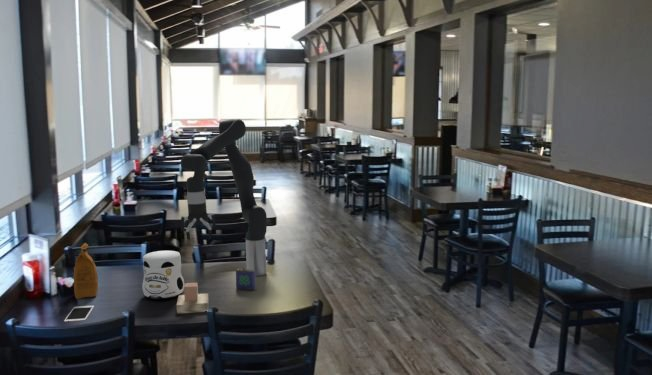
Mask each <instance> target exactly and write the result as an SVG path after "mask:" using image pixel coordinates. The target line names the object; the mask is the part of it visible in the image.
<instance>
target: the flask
mask: <svg viewBox="0 0 652 375" xmlns="http://www.w3.org/2000/svg"><path fill="white" fill-rule="evenodd" d="M255 273H256V272H255V270H247V265H245V266H243V268H241V267H239V268H237V269H235V277H236V278H235V289H236V290H238V291H247V292H249V291H250V292H253V291H254V292H255V291H256V290H257V286H256V285H257V283H256V280H257V279H256V276H255Z"/></svg>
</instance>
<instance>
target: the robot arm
mask: <svg viewBox="0 0 652 375" xmlns="http://www.w3.org/2000/svg"><path fill="white" fill-rule="evenodd" d="M246 132H247V127H246V123H245V122H244V121H243V120H242V119H240V118H232V119H224V120H221V121H220V123H219V125H218V133H219V134H218V135H216V136H213V137H212V138H210V139H208V140H206V141H205V142H204V143H202V144H201V145H200V146H199V147H198V148H194V149H192V150H191V151H188V152H187V153H185V154H184V155H183V156H182V158H181V160H180V167H181V168H182V169H183V170H184V171H185V172H193V176H190V177H187V179H186V190H187V192H186V193H187V194H186V203H187V211H188V212H187V213H188V215H187V216H185V215H181V217H180V220H181V221H180V223H181V224H180V226H181V228H180V229H181V231H182V232H186V233H185V235H186V239H187V240H188V241H191V232H190V230H191V228H192V227H193V226H195V227H196V226H205V227H206V228H207V230H208V239H211V238H212V237H213V229H216V227H217V225H216V217H215V214H214V213H208V211H207V199H206V193H205V183H204V182H205V177H206V171H207V162H208V161H210V160H212V159H213V158H214V157H215V156H216V155H217V154H219V153H220V152H221V151H223V150H224V149H225V153H226V155H227V159H228V161H229V165H230V169H231V173H232V178H233V181H234V184H235V187H236V191H237V195H238V197H239V203H240V208H241V210H240V211H241V214H242V218H243V221H245V222H246V223H247V224H248V230H247V232H246V233H245V257H246V263H245V264H246V265H245V266H247V270H255V272H256V273H255V277H260V276H264V275H267V254H266V233H267V227H268V226H267V223H268V222H267V216H268V215H267V212H266V210H265V208H263V207H262V206H259V205H257V202H256V198H255V194H254V183H255V177H254V173H253V169H252V166H251V163H250V161H249V159H247V157H246V156H245V155H244V154H243V153H242V152H241V151H240V149H239V148H238V145H237V144H236V141H238V140H240V139H241V138H243V137H244V136H245V135H246ZM208 218H209V219H210V220H211V222H212V224H211V225H210V223H209V222H208V221H207V220H208ZM187 220H188V222H189V223H188V225H187V227H185V222H187Z"/></svg>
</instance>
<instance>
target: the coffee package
mask: <svg viewBox="0 0 652 375" xmlns="http://www.w3.org/2000/svg"><path fill="white" fill-rule="evenodd" d="M88 247H89V244H88V243H86V242H84V243H83V244H82V245H81V246H80V250H81V252H80V253H79V255H78V257H77V258H76V261H75V263H74V270H73V292H74V298H75V299H76V300H80V299H84V298H86V299H87V298H92V297H96V296H97V294H98V290H99V277H98V276H99V275H98V271H97V266H96V263H95V261H94V259H93V258H92V256H91V255H89V253H88V250H87V248H88Z"/></svg>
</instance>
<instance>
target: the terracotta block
mask: <svg viewBox="0 0 652 375" xmlns="http://www.w3.org/2000/svg"><path fill="white" fill-rule="evenodd" d="M198 289H199V286H198V282H186V283H185V282H184V290H183V295H184V296H185V302H186V301H198V294H199V290H198Z"/></svg>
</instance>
